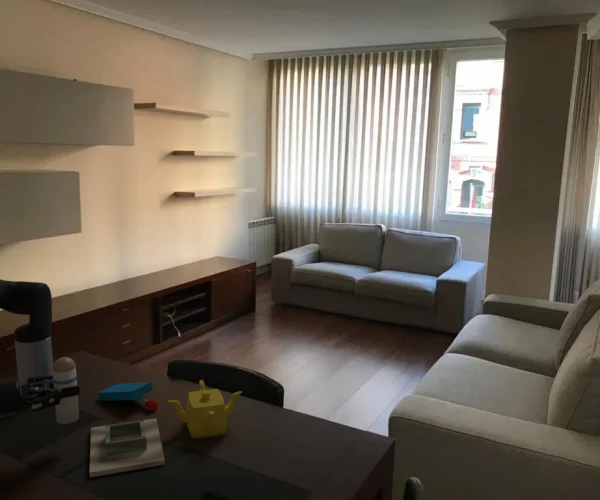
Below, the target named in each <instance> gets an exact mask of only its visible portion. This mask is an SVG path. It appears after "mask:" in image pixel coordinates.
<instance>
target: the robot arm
mask: <svg viewBox="0 0 600 500" xmlns="http://www.w3.org/2000/svg"><path fill="white" fill-rule="evenodd" d="M52 297H53V296H52V291H51V289H50V287H49V285H48V284H47V283H44V282H39V281H24V280H23V281H22V280H21V281H18V280H17V281H16V280H15V281H14V280H5V279H0V310H2V311H6V312H8V313H11V314H15V315H24V316H29V319H28V320H29V321H28V323H24V324H22V325H19V326H18V327H16V328H15V329H14V333H13V335H14V346H15V347H14V348H15V357H16V369H17V370H16V371H17V379H16V380H15V379H14V380H10V381H4V382H3V381H2V382H0V418H4V417H5V418H6V417H9V416H14V415H19V414H21V413H22V408H23V407H31V410H32V412H34V413H35V412H39V411H42V410H45V409H49V408H51V407H55V405H59V404H60V401H61V400H62V398H67V397H72V396H77V395H78V396H79V395H80V392H81V391H80V386H79V385H78V384H77V386H71V387H67V388H62V389H54V383H53V370H52V368H53V364H54V361H53V360H54V359H53V348H52V347H53V346H52V334H51V332H52V331H51V330H52V326H53V298H52Z"/></svg>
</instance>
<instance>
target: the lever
mask: <svg viewBox="0 0 600 500" xmlns="http://www.w3.org/2000/svg"><path fill="white" fill-rule="evenodd" d="M152 391H154V389H153V384H152V381H146V382H145V381H143V382H129V383H127V382H126V383H116V384H114V385H112V386H110V387H108V388H106V389H103V390H101V391H100V392H98V397H99V400H100V399H101V400H100V401H102V400H105V401H108V402H109V401H136V400H137V401H138V402H141V403H142V404H144V405H145V406H144V407H145V409H146V410H147V411H148V412H154V411H157V409H158V407H159V402H158V400H157V399H156V398H149V399H146V398H144V397H143V396H145V395H147V394H149V393H150V392H152ZM105 401H104V402H105Z"/></svg>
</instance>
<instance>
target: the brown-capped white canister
mask: <svg viewBox="0 0 600 500" xmlns="http://www.w3.org/2000/svg"><path fill="white" fill-rule="evenodd" d="M76 365H77V364H76V362H75V361H74V360H73V359H72V358H71V357H66V356H63V357H60V358H59V357H58V359H57V360H55V361H54V362H53V368H52V370H53V383H54V389H62V388H67V387H71V386H77V385H78V383H77V378H78V376H77V369H76V368H77V367H76ZM78 396H79V395H77V396H72V397H67V398H62V400H61V401H60V404H59V405H55V406H54V407H55V420H56V423H57V424H60V425H68V424H72V423H75V422H76V421H78V420H79V418H80V411H79V409H80V408H79V397H78Z"/></svg>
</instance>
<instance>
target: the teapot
mask: <svg viewBox="0 0 600 500" xmlns="http://www.w3.org/2000/svg"><path fill="white" fill-rule="evenodd" d="M198 382H199V383H198V384H199V389H198V390H195V391H190V392H189V393H188V397H187V402H186V403H187V404H186V410H184V409H183V406H182V405H181V402H180V401H179V400H176V399H169V400H167V403H170V404H172V405H174V407H175V409H176V411H177V415H178V418H179V419H180V420H181V421H182V422H183V423H185V424H186V426H187V430H188V432H189V435H190V437H191V438H192V439H194V440H195V439H205V438H210V437H211V438H212V437H217V436H222V435H225V434H226V433H227V431H228V417H230V416H231V415H232V413H233V411H234V408H235V403H236V400H237V397H238V396H239V395H241V394H242V393H243V390H242V391H241V390H239V391H236V392H233V393H232V395H231V396H230V398H229V399H230V400H229V401H228V403H227V404H225V399H224V397H223V394H222V392H221V391H220V389H219V388H213V389H206V384H205V380H204V379H200V380H199V381H198Z"/></svg>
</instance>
